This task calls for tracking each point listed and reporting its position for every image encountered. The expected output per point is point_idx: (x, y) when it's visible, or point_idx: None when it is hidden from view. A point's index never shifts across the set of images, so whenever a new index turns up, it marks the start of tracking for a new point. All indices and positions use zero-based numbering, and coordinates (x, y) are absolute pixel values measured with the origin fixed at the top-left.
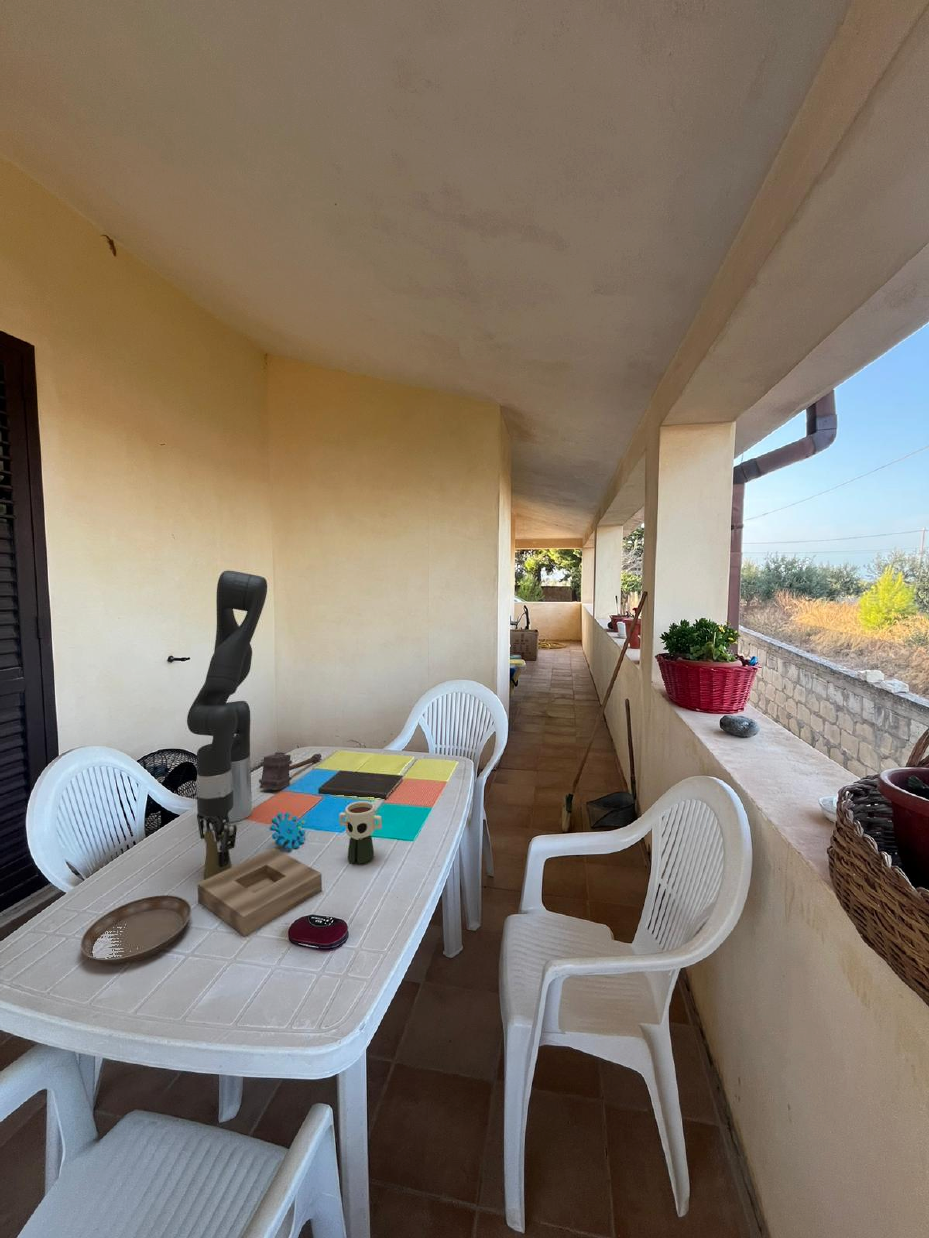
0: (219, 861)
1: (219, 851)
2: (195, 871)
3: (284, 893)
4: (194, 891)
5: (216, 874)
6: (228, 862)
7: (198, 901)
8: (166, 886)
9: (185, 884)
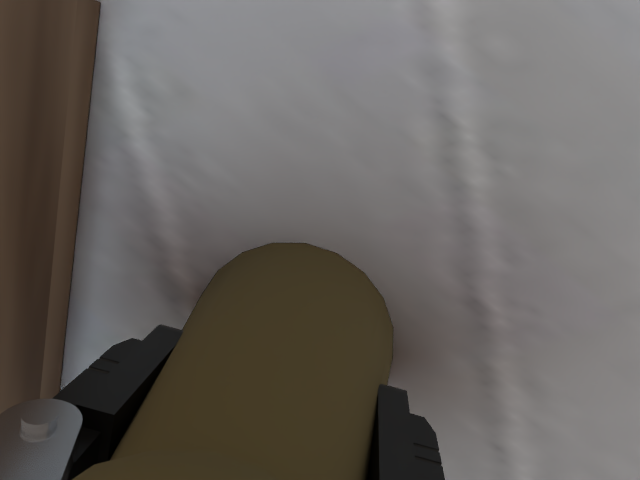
0: (136, 346)
1: (40, 404)
2: (483, 295)
3: None
4: (246, 89)
5: (213, 285)
6: None
7: (94, 1)
8: (537, 38)
9: (401, 129)
